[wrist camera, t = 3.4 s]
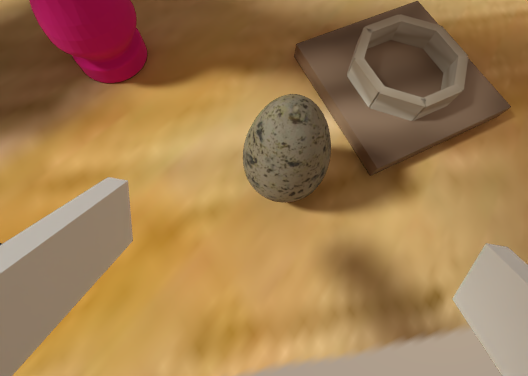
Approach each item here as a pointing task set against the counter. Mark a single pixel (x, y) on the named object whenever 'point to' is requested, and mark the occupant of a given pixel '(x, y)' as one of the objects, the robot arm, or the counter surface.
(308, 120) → the decorative egg
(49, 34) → the pepper mill
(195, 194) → the counter surface
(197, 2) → the counter surface
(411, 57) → the egg stand
